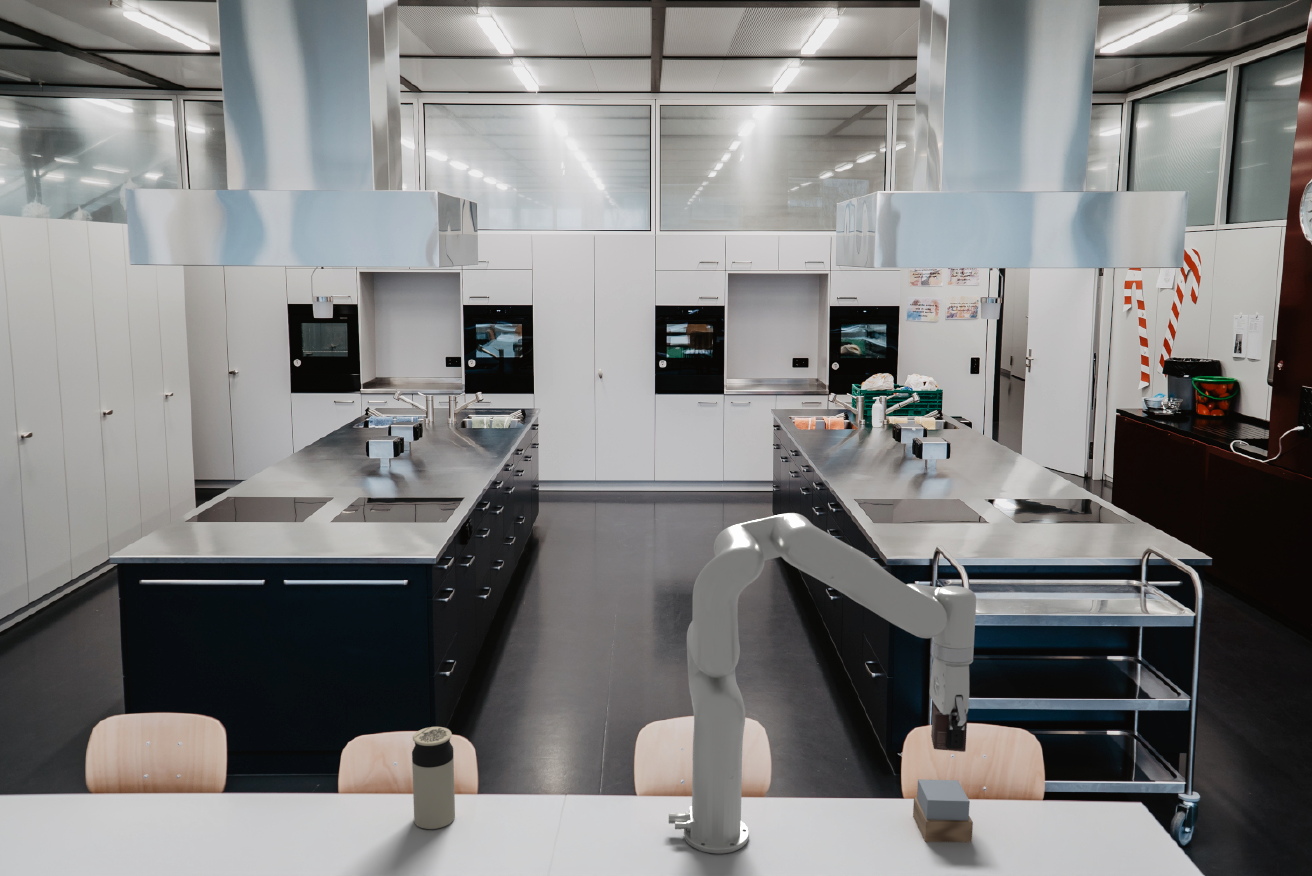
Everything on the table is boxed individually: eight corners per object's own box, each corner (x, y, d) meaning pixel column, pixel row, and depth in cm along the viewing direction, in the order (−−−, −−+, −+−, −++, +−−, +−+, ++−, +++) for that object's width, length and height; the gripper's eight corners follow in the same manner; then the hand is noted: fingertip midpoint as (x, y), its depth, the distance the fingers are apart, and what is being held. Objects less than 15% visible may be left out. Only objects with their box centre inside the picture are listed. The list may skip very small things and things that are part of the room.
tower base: (924, 843, 184) (926, 821, 183) (912, 817, 193) (914, 797, 192) (971, 843, 184) (972, 822, 183) (957, 818, 192) (958, 797, 192)
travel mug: (463, 816, 191) (461, 732, 189) (434, 834, 185) (432, 747, 182) (435, 804, 195) (432, 722, 193) (405, 822, 189) (402, 737, 186)
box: (965, 753, 182) (968, 716, 180) (933, 749, 183) (935, 713, 182) (962, 738, 187) (964, 703, 186) (930, 735, 189) (932, 700, 188)
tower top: (926, 819, 184) (927, 799, 183) (916, 797, 192) (917, 779, 191) (968, 820, 183) (969, 801, 183) (957, 798, 191) (958, 780, 191)
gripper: (920, 635, 191) (916, 718, 194) (946, 668, 174) (941, 760, 176) (958, 635, 191) (953, 719, 194) (987, 668, 174) (982, 760, 176)
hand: (948, 737), depth 185 cm, fingers closed on box, 6 cm apart
